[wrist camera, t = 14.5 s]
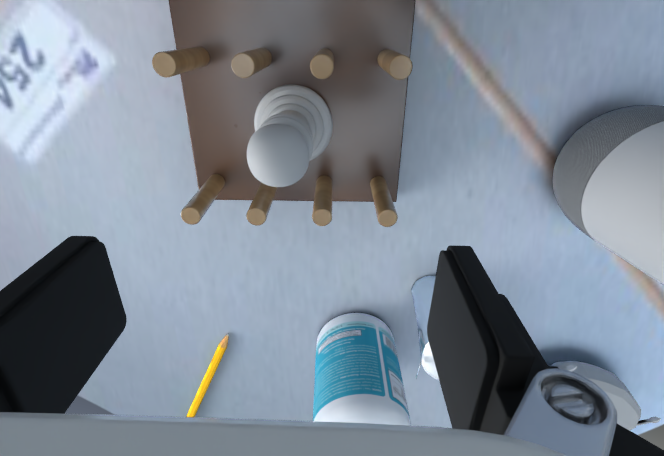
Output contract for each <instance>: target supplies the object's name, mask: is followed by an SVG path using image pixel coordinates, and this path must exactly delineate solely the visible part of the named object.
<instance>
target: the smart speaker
mask: <svg viewBox="0 0 664 456" xmlns="http://www.w3.org/2000/svg"><path fill="white" fill-rule="evenodd" d="M553 190H554V195H555V198H556V200H557V202H558V205H559V206H560V208H561V210H562V211H563V213H564V214H565V216H566V217H567V218H568V219H569V220H570V221H571V222H572V223H573V224H574V225H575V226H576V227H577V228H579V229H580V230H581V231H582V232H584V233H585V234H586V235H588V236H589V237H590V238H592V239H593V240H594V241H596V242H597V243H599V244H600V245H602V246H603V247H605V248H606V249H608V250H610V251H611V252H613V253H614V254H616V255H617V256H619V257H621V258H622V259H624V260H625V261H627V262H628V263H630V264H631V265H633V266H635V267H636V268H638V269H639V270H641V271H642V272H644V273H645V274H647V275H649V276H650V277H652V278H653V279H655V280H656V281H658V282H660V283H661V284H663V285H664V106H656V105H641V106H631V107H625V108H620V109H616V110H613V111H610V112H607V113H605V114H603V115H600V116H598V117H596V118H595V119H593V120H591V121H589V122H588V123H586V124H585V125H584V126H582V127H581V128H580V129H579V130H577V131H576V132H575V133H574V134H573V135H572V136H571V137H570V139H569V140H568V141H567V142H566V144H565V145H564V146H563V148H562V150H561V151H560V153H559V155H558V158H557V160H556V163H555V166H554V171H553Z"/></svg>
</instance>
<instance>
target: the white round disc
mask: <svg viewBox="0 0 664 456" xmlns="http://www.w3.org/2000/svg"><path fill="white" fill-rule="evenodd" d="M548 367H549V369H554V368H558V369H563V370H568V371H571V372H574V373H577V374H579V375H582V376H583V377H585V378H587V379H589V380H590V381H592V382H594V383H595V384H596V385H597V386H599V387H600V388H601V389H602V390H603V391H604V392H605V393H606V394H607V395H608V396H609V398H610V399H611V400H612V401H613V403H614V406H615V408H616V410H617V424H619V425H621V426H622V427H624V428H626V429H627V430H629V431H630V430H632V429H634V428H636V426H637V425H642V424H647V423H656V422H659V421H660V419H661V418H658V417H651V418H650V419H646V420H641V421H639V419H640V417H641V409H640V406H639V405H638V403H637V402H636V400H635V399H634V398H633V396H632V395H631V393H630V392H629V390H628V389H627V388H626V386H625V385H624V383H623V382H622V381H621V380H620V379H619V378H618V377H617V376H616V375H615V374H613V373H612V372H609V371H607V370H605V369H602V368H600V367H597V366H595V365H591V364H588V363H583V362H578V361H563V362H555V363H554V364H552V365H551V366H548Z"/></svg>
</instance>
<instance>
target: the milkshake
mask: <svg viewBox="0 0 664 456" xmlns="http://www.w3.org/2000/svg"><path fill="white" fill-rule="evenodd" d="M435 278H436V276H428V275H427V276H425V277H423V278H421V279H419V280H417V281H416V282H415V284H414V286H413V287H412V289H411V290H412V296H413V302H414V308H415V314H416V320H417V326H418V337H419V345H420V353H421V362H422V365H423V368H424V370H425V371H426V372H427V373H428V374H429V375H430V376H432V377H433V378H435V379H437V380H439V377H438V373H437V370H436V366H435V362H434V359H433V355H432V351H431V348H430V344H429V341H428V336H427V324H428V318H429V312H430V307H431V301H432V295H433V289H434V284H435ZM421 362H420V365H421ZM420 365H419V369H420ZM419 369H418V372H419ZM418 372H417V375H418ZM417 375H416V378H417Z"/></svg>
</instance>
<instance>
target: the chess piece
mask: <svg viewBox="0 0 664 456" xmlns="http://www.w3.org/2000/svg"><path fill="white" fill-rule="evenodd" d="M254 127H255V133H254V134H253V135H252V136H251V138H250V140H249V143H248V146H247V162H248V166H249V168H250V170H251V172H252V174H253V175H254V177H255V178H256V179H257V180H259V181H260V182H262V183H263V184H266V185H268V186H272V187H285V186H289V185H292V184H294V183H296V182H297V181H299V180H300V179H301V178H302V177H303V176H304V174H305V172H306V170H307V168H308V165H309V161H311V160H313V159H315V158H316V157H317V156H319V155H320V154H321V153H322V152H323V151H324V150H325V148H326V147H327V145H328V143H329V141H330V139H331V136H332V129H333V123H332V117H331V113H330V110H329V108H328V106H327V105H326V103H325V102H324V100H323V99H322V98H321V97H320V96H319V95H318V94H317V93H315V92H314V91H312V90H311V89H309V88H307V87H304V86H300V85H283V86H280V87H277V88H275V89H273V90H271V91H270V92H269V93H267V94H266V95H265V96H264V97H263V98H262V100H261V101H260V103H259V105H258V107H257V109H256V113H255V118H254Z"/></svg>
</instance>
